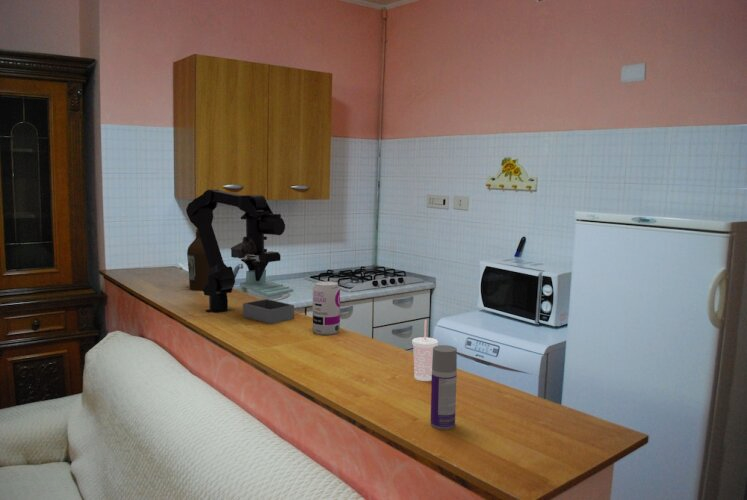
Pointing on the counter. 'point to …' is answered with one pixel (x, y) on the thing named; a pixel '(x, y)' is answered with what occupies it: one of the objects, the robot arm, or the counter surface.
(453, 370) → the container
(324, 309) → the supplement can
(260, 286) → the lid
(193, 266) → the olive oil
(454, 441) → the counter surface
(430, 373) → the beverage cup
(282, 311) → the tub
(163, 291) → the counter surface
